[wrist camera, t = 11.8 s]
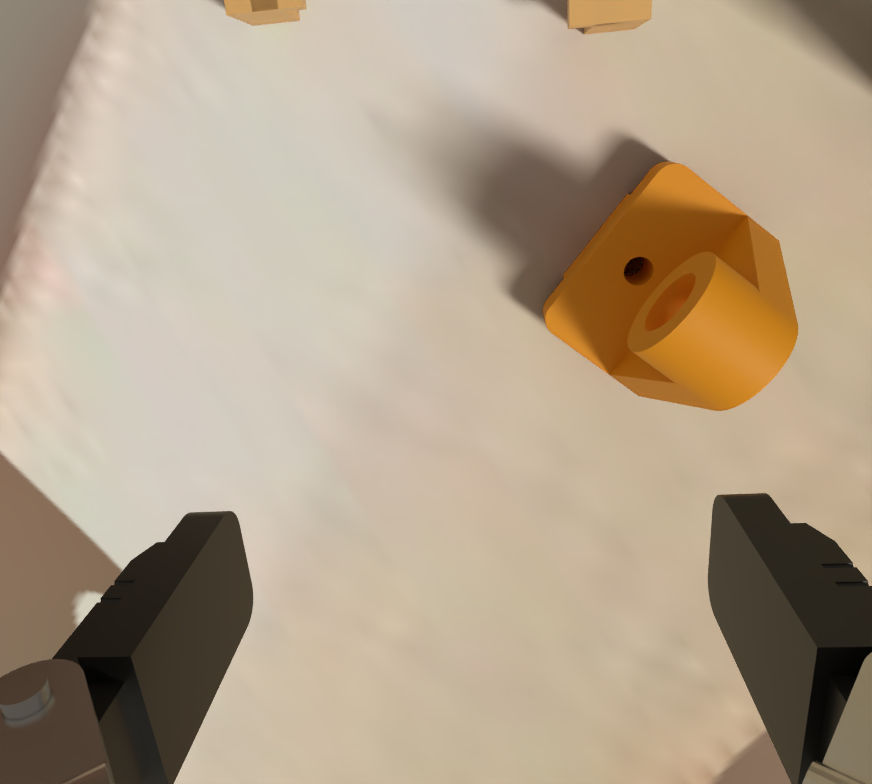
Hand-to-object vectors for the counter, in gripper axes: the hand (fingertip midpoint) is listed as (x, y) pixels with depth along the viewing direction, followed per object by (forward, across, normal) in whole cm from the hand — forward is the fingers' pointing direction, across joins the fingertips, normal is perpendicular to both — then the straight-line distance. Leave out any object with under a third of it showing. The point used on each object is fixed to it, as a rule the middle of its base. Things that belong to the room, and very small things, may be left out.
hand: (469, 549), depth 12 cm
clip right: (+30, -7, -12) cm, 33 cm away
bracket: (+30, -9, +2) cm, 32 cm away
